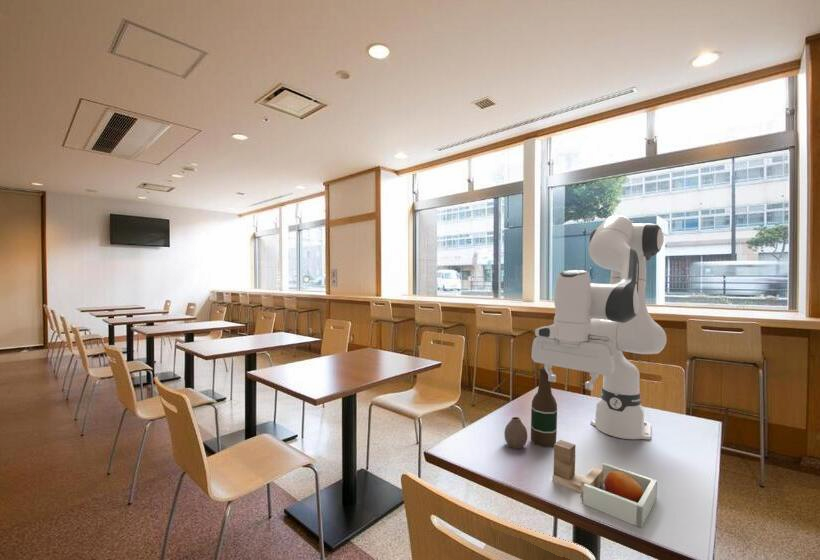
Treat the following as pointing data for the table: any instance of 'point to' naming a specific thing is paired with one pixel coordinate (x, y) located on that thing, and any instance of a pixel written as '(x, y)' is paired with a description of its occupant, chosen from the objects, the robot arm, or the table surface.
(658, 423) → the table surface
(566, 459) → the angled wooden block structure
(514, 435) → the vase
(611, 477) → the fruit
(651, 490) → the tray
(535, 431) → the beer bottle
